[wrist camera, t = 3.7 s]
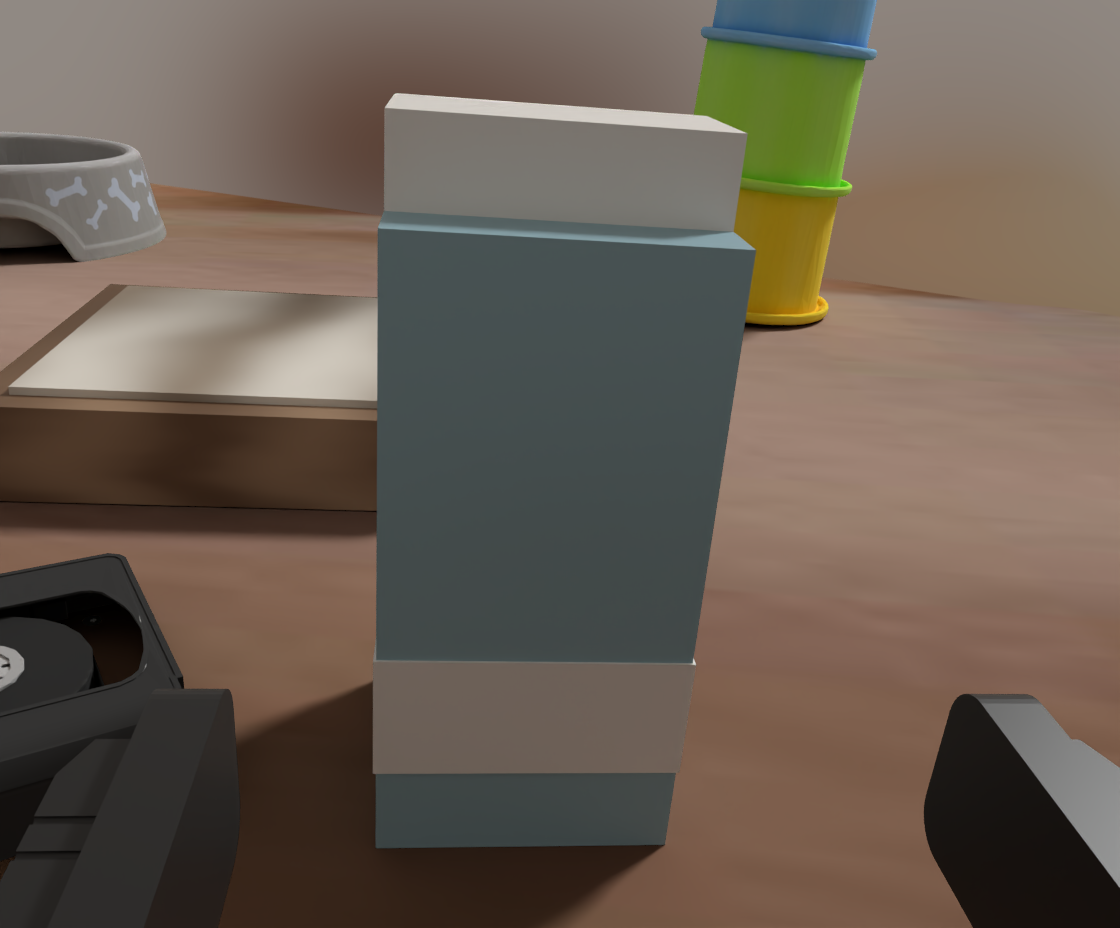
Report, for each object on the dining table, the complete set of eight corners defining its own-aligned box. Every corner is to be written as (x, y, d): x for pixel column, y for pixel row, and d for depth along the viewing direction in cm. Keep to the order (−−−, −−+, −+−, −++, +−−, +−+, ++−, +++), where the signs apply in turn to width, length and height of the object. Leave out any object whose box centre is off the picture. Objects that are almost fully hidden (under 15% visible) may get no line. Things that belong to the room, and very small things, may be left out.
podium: (451, 368, 44) (454, 295, 43) (450, 512, 32) (453, 415, 30) (117, 354, 43) (110, 278, 41) (-26, 500, 30) (-44, 397, 29)
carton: (623, 673, 25) (692, 109, 19) (667, 846, 20) (777, 144, 14) (390, 671, 24) (396, 87, 19) (372, 850, 19) (374, 116, 14)
